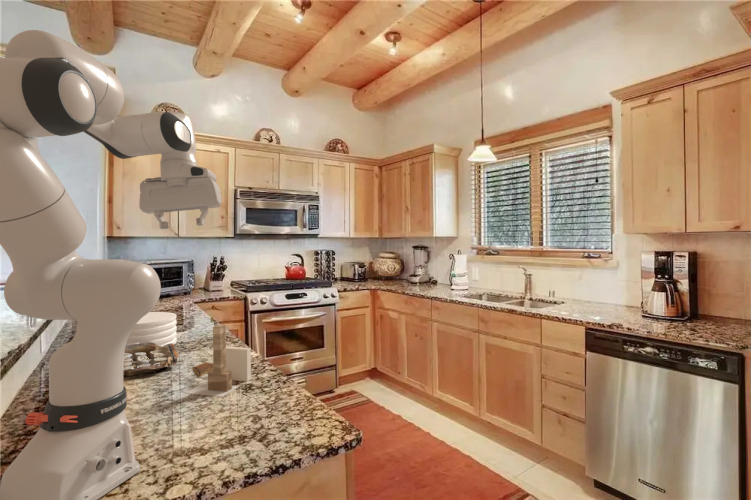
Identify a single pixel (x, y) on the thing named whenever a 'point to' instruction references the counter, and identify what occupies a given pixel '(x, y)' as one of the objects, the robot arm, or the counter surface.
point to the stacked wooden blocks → (219, 362)
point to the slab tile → (239, 363)
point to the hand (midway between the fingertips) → (182, 227)
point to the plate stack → (155, 329)
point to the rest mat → (204, 390)
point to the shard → (203, 368)
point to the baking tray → (142, 350)
